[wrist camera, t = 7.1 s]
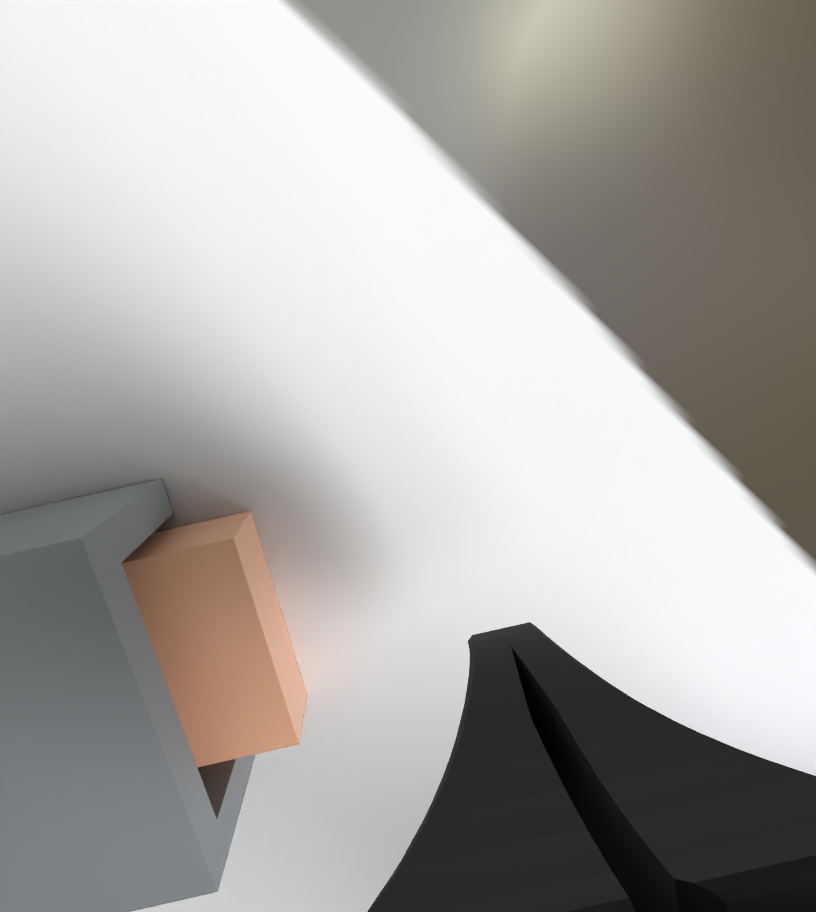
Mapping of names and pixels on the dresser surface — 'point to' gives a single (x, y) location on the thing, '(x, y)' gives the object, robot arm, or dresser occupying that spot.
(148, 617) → the slab
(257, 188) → the dresser surface
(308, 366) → the dresser surface
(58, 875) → the block
